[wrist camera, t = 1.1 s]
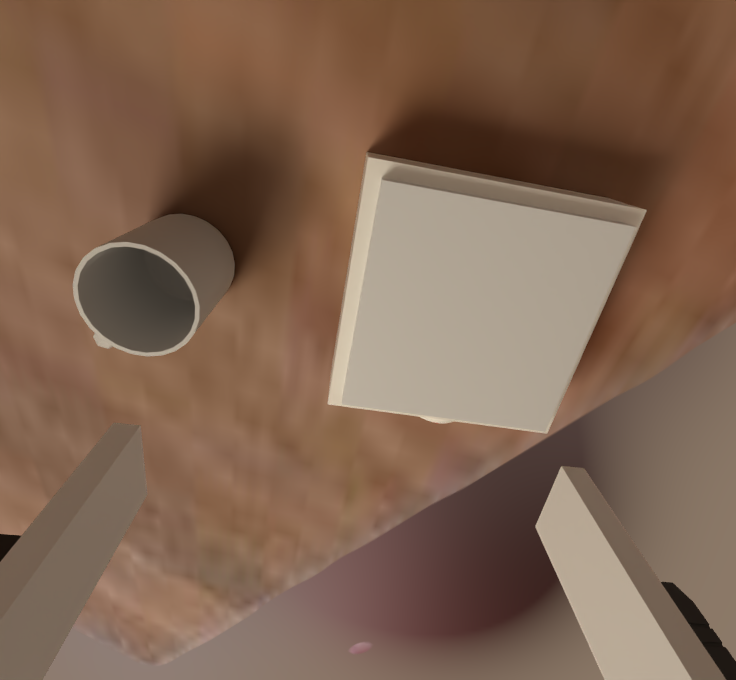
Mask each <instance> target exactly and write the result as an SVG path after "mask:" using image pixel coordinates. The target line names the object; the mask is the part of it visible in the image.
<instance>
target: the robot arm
mask: <svg viewBox="0 0 736 680" xmlns="http://www.w3.org/2000/svg"><path fill="white" fill-rule="evenodd" d="M146 496H147V486H146V476H145V466H144V455H143V445H142V435H141V425H131V424H121V423H113V424H112V425H111V427H110V428H109V429H108V430H107V432H106V433H105V434H104V435H103V437H102V438H101V439H100V440H99V441H98V443H97V444H96V445H95V446H94V448H93V449H92V450H91V451H90V452H89V454H88V455H87V456H86V457H85V459H84V460H83V461H82V462H81V463H80V465H79V466H78V467H77V468H76V470H75V471H74V472H73V473H72V475H71V476H70V477H69V478H68V479H67V481H66V482H65V483H64V484H63V486H62V487H61V488H60V489H59V490H58V492H57V493H56V494H55V495H54V497H53V498H52V499H51V500H50V502H49V503H48V504H47V505H46V506H45V508H44V509H43V510H42V511H41V513H40V514H39V515H38V516H37V517H36V519H35V520H34V521H33V522H32V524H31V525H30V526H29V527H28V528H27V530H26V531H25V532H24V533H23V535H22V536H19V535H5V534H0V680H43V678H44V676H45V675H46V673H47V671H48V669H49V667H50V666H51V664H52V662H53V660H54V659H55V657H56V655H57V653H58V652H59V650H60V648H61V646H62V644H63V643H64V641H65V639H66V637H67V636H68V634H69V632H70V630H71V629H72V627H73V625H74V623H75V621H76V620H77V618H78V616H79V614H80V613H81V611H82V609H83V607H84V605H85V604H86V602H87V600H88V598H89V597H90V595H91V593H92V591H93V590H94V588H95V586H96V584H97V582H98V581H99V579H100V577H101V575H102V574H103V572H104V570H105V568H106V567H107V565H108V563H109V561H110V559H111V558H112V556H113V554H114V552H115V551H116V549H117V547H118V545H119V544H120V542H121V540H122V538H123V536H124V535H125V533H126V531H127V529H128V528H129V526H130V524H131V522H132V521H133V519H134V517H135V515H136V513H137V512H138V510H139V508H140V506H141V505H142V503H143V501H144V499H145V498H146ZM535 527H536V529H537V531H538V534H539V536H540V538H541V540H542V542H543V545H544V547H545V549H546V552H547V554H548V556H549V558H550V560H551V563H552V565H553V567H554V569H555V571H556V574H557V576H558V578H559V580H560V582H561V585H562V587H563V589H564V591H565V594H566V596H567V598H568V600H569V602H570V604H571V607H572V609H573V611H574V613H575V616H576V618H577V620H578V622H579V624H580V627H581V629H582V631H583V633H584V635H585V637H586V640H587V642H588V644H589V647H590V649H591V651H592V653H593V655H594V658H595V660H596V662H597V664H598V666H599V669H600V671H601V673H602V675H603V677H604V680H736V661H735V660H734V658H733V657H732V656H731V654H730V653H729V651H728V650H727V649H726V648H725V647H723V646H722V642H721V640H720V639H719V638H718V636H717V635H716V633H715V632H714V630H713V629H710V627H709V624H708V622H707V621H706V619H705V618H704V616H703V615H702V614H701V612H700V611H699V609H698V608H697V607H696V605H695V604H694V602H693V601H692V600H690V599H689V598H688V597H687V596H686V595H685V594H684V593H683V592H682V591H681V590H680V589H679V588H678V587H676V585H675V584H673V583H669V582H660V581H659V579H658V578H657V576H656V575H655V573H654V572H653V570H652V569H651V567H650V566H649V564H648V563H647V561H646V560H645V558H644V557H643V555H642V554H641V553H640V551H639V549H638V548H637V546H636V545H635V543H634V542H633V541H632V539H631V537H630V536H629V534H628V533H627V532H626V530H625V528H624V527H623V526H622V524H621V523H620V521H619V520H618V518H617V517H616V515H615V514H614V512H613V511H612V509H611V508H610V506H609V505H608V503H607V502H606V500H605V499H604V497H603V496H602V494H601V493H600V491H599V490H598V488H597V487H596V485H595V484H594V483H593V481H592V480H591V478H590V476H589V475H588V474H587V472H586V471H585V469H584V468H576V467H566V466H561V469H560V471H559V473H558V476H557V478H556V480H555V482H554V485H553V487H552V489H551V492H550V494H549V496H548V499H547V501H546V503H545V506H544V508H543V510H542V512H541V515H540V517H539V520H538V522H537V524H536V526H535Z"/></svg>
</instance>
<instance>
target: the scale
mask: <svg viewBox="0 0 736 680" xmlns="http://www.w3.org/2000/svg"><path fill="white" fill-rule="evenodd" d="M646 211H647V210H645V209H642V208H639V207H636V206H632V205H629V204H626V203H623V202H619V201H616V200H613V199H610V198H606V197H601V196H596V195H590V194H585V193H580V192H575V191H569V190H564V189H559V188H554V187H548V186H543V185H538V184H533V183H528V182H522V181H517V180H512V179H507V178H501V177H496V176H491V175H486V174H480V173H475V172H470V171H465V170H459V169H454V168H449V167H444V166H439V165H433V164H428V163H423V162H418V161H412V160H407V159H402V158H397V157H391V156H386V155H381V154H376V153H370V152H366V159H365V165H364V171H363V177H362V183H361V190H360V196H359V202H358V208H357V214H356V221H355V227H354V233H353V239H352V245H351V251H350V258H349V264H348V270H347V276H346V282H345V289H344V295H343V301H342V307H341V313H340V320H339V326H338V332H337V338H336V344H335V351H334V357H333V363H332V369H331V377H330V387H329V396H328V404H330V405H337V406H345V407H352V408H360V409H367V410H375V411H382V412H390V413H397V414H405V415H412V416H419V417H421V418H423V419H425V420H428V421H431V422H434V423H450V422H453V421H457V422H464V423H472V424H479V425H487V426H494V427H502V428H509V429H517V430H524V431H532V432H539V433H548V430H549V428H550V426H551V424H552V421H553V419H554V417H555V415H556V412H557V410H558V408H559V406H560V403H561V401H562V399H563V397H564V395H565V392H566V390H567V388H568V386H569V383H570V381H571V379H572V377H573V374H574V372H575V370H576V368H577V365H578V363H579V361H580V359H581V356H582V354H583V352H584V350H585V348H586V345H587V343H588V341H589V339H590V336H591V334H592V332H593V330H594V327H595V325H596V323H597V321H598V318H599V316H600V314H601V312H602V310H603V307H604V305H605V303H606V301H607V298H608V296H609V294H610V292H611V289H612V287H613V285H614V283H615V280H616V278H617V276H618V274H619V271H620V269H621V267H622V265H623V263H624V260H625V258H626V256H627V254H628V251H629V249H630V247H631V245H632V242H633V240H634V238H635V236H636V233H637V231H638V229H639V227H640V224H641V222H642V220H643V218H644V216H645V213H646Z"/></svg>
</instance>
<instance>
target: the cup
mask: <svg viewBox="0 0 736 680" xmlns="http://www.w3.org/2000/svg"><path fill="white" fill-rule="evenodd" d="M234 270H235V262H234V257H233V252H232V250H231V248H230V246H229V244H228V242H227V240H226V239H225V238H224V236H223V235H222V234H221V233H220V232H219V230H218V229H216V228H215V227H214V226H212V225H211V224H210V223H208V222H207V221H205V220H203V219H200V218H198V217H196V216H192V215H187V214H169V215H166V216H163V217H160V218H158V219H155V220H153V221H150V222H148V223H146V224H144V225H142V226H140V227H138V228H136V229H134V230H132V231H130V232H128V233H126V234H124V235H122V236H119V237H117V238H115V239H113V240H111V241H109V242H107V243H105V244H103V245H101V246H99V247H97V248H95V249H93V250H92V251H91V252H90V253H88V254H87V255H86V256H85V257H83V259H82V260H81V262H80V264H79V265H78V267H77V269H76V271H75V276H74V280H73V292H74V300H75V302H76V305H77V308H78V310H79V313H80V315H81V316H82V318H83V319H84V321H85V322H86V323H87V325H88V326H89V328H90V329H91V330H92V331H94V332H95V334H94V336H93V338H94V339H95V341H96V343H97V345H98V346H101V347H104V348H108V349H109V348H111V347H115V348H117V349H120V350H122V351H125V352H128V353H130V354H135V355H142V356H160V355H165V354H168V353H171V352H174V351H176V350H178V349H179V348H180V347H182V346H183V345H185V344H186V343H187V342H188V341H189V340H190V338H191V337H192V336H193V334H194V333H195V332H196V331H197V329H198V328H199V327H200V325H201V324H202V323H203V321H204V320H205V319H206V318H207V316H208V315H209V314H210V312H211V311H212V310H213V308H214V307H215V306H216V305H217V303H218V302H219V301H220V299H221V298H222V297H223V296H224V294H225V293H226V292H227V290H228V289H229V287H230V285H231V282H232V280H233V277H234Z"/></svg>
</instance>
